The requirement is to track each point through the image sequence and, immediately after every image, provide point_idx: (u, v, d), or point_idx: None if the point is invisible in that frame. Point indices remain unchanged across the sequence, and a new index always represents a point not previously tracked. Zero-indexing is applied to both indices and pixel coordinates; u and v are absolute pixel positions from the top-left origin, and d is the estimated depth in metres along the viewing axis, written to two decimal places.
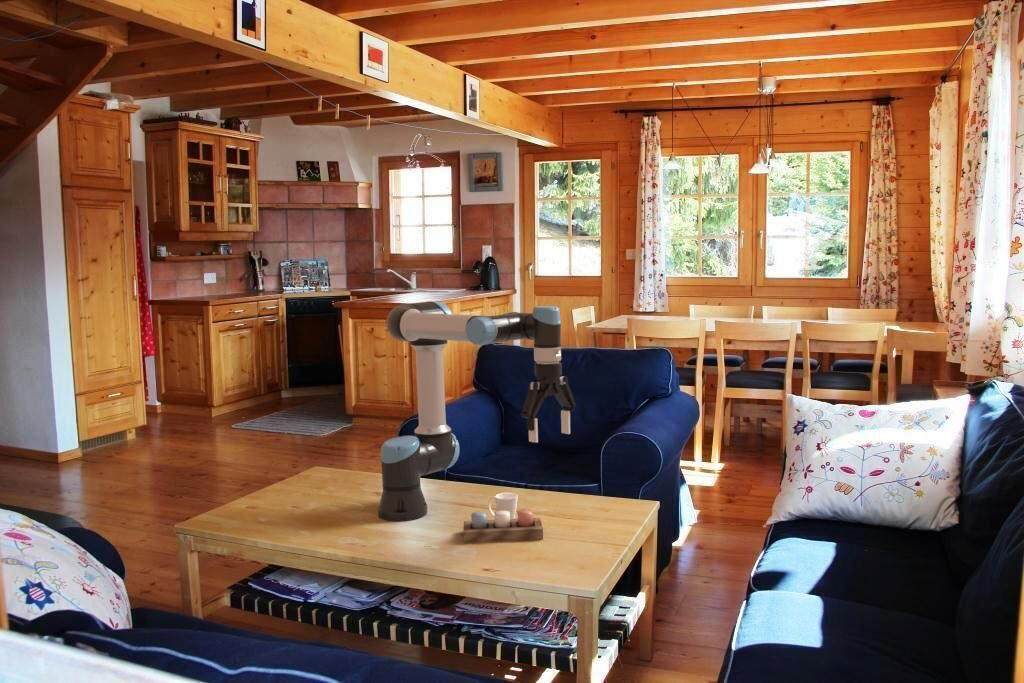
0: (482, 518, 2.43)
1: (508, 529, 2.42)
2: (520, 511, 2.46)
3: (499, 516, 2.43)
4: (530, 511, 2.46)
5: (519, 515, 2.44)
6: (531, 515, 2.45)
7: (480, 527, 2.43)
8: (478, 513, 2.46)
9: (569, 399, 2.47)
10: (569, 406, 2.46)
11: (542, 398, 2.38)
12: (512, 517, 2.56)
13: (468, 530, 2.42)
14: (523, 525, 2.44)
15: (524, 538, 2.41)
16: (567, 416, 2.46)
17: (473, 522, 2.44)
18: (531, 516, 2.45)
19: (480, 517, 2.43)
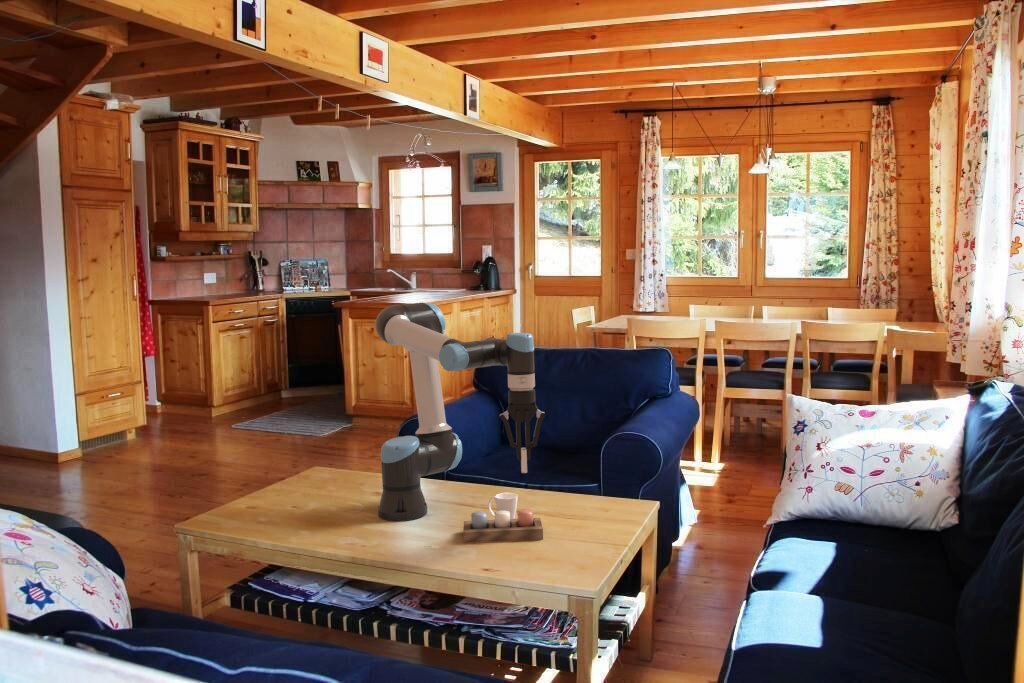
0: (482, 518, 2.43)
1: (508, 529, 2.42)
2: (520, 511, 2.46)
3: (499, 516, 2.43)
4: (530, 511, 2.46)
5: (519, 515, 2.44)
6: (531, 515, 2.45)
7: (480, 527, 2.43)
8: (478, 513, 2.46)
9: (534, 435, 2.43)
10: (528, 444, 2.43)
11: (518, 426, 2.42)
12: (512, 517, 2.56)
13: (468, 530, 2.42)
14: (523, 525, 2.44)
15: (524, 538, 2.41)
16: None
17: (473, 522, 2.44)
18: (531, 516, 2.45)
19: (480, 517, 2.43)
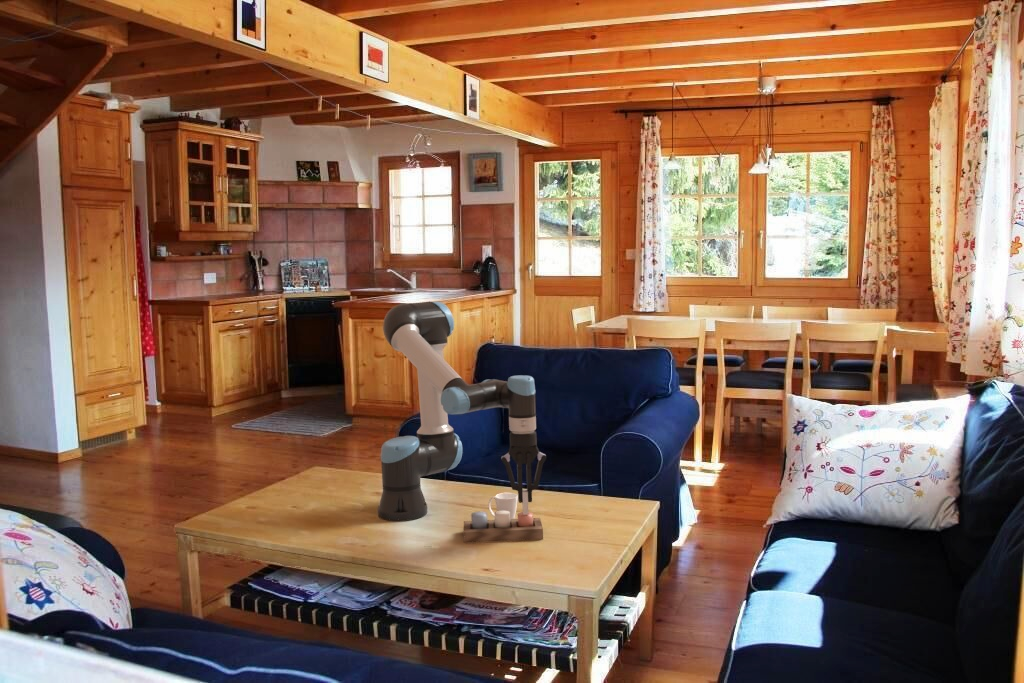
0: (482, 518, 2.43)
1: (508, 529, 2.42)
2: (520, 513, 2.46)
3: (499, 516, 2.43)
4: (530, 513, 2.46)
5: (519, 517, 2.45)
6: (531, 517, 2.45)
7: (480, 527, 2.43)
8: (478, 513, 2.46)
9: (535, 478, 2.44)
10: (529, 486, 2.44)
11: (519, 469, 2.43)
12: (512, 517, 2.56)
13: (468, 530, 2.42)
14: None
15: (524, 538, 2.41)
16: None
17: (473, 522, 2.44)
18: (531, 518, 2.45)
19: (480, 517, 2.43)
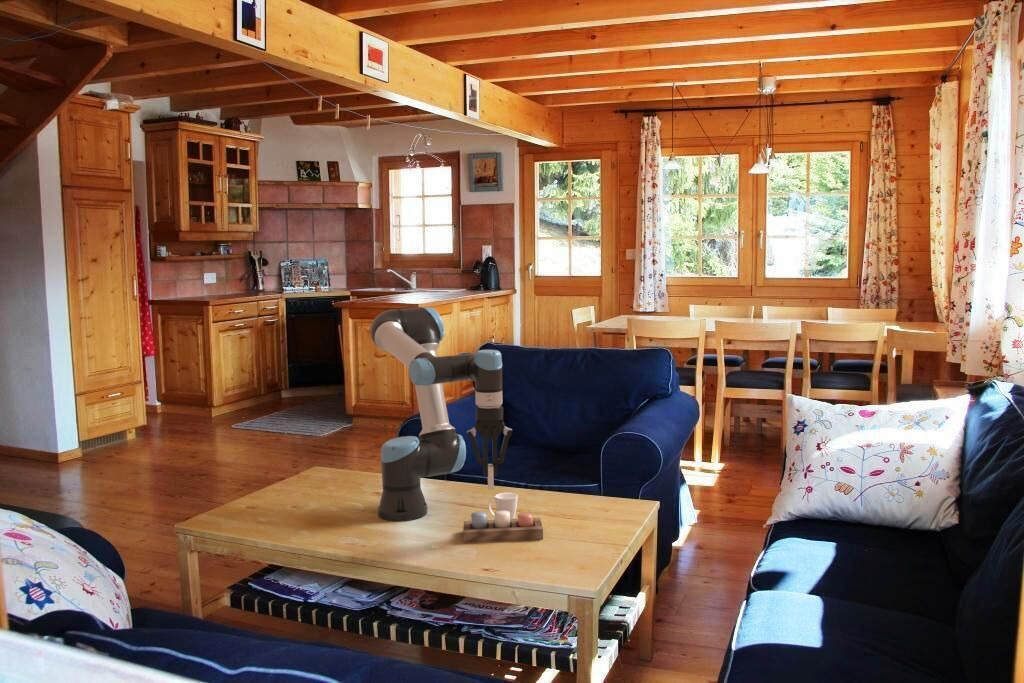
0: (482, 518, 2.43)
1: (508, 529, 2.42)
2: (520, 514, 2.46)
3: (499, 516, 2.43)
4: (530, 514, 2.46)
5: (519, 518, 2.45)
6: (531, 518, 2.45)
7: (480, 527, 2.43)
8: (478, 513, 2.46)
9: (501, 452, 2.44)
10: (495, 461, 2.43)
11: (485, 443, 2.42)
12: (512, 517, 2.56)
13: (468, 530, 2.42)
14: None
15: (524, 538, 2.41)
16: None
17: (473, 522, 2.44)
18: (531, 519, 2.45)
19: (480, 517, 2.43)
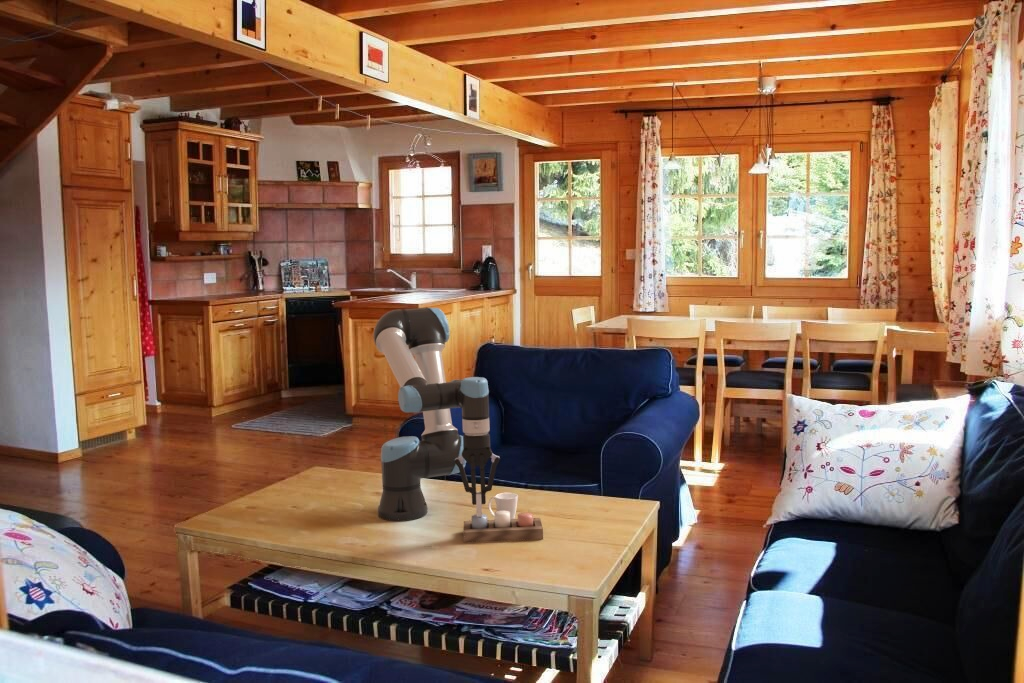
0: (482, 520, 2.43)
1: (508, 529, 2.42)
2: (520, 514, 2.46)
3: (499, 516, 2.43)
4: (530, 514, 2.46)
5: (519, 518, 2.45)
6: (531, 518, 2.45)
7: None
8: None
9: (489, 480, 2.44)
10: (483, 488, 2.43)
11: (472, 471, 2.43)
12: (512, 517, 2.56)
13: (468, 530, 2.42)
14: None
15: (524, 538, 2.41)
16: None
17: (473, 524, 2.44)
18: (531, 519, 2.45)
19: (480, 519, 2.43)
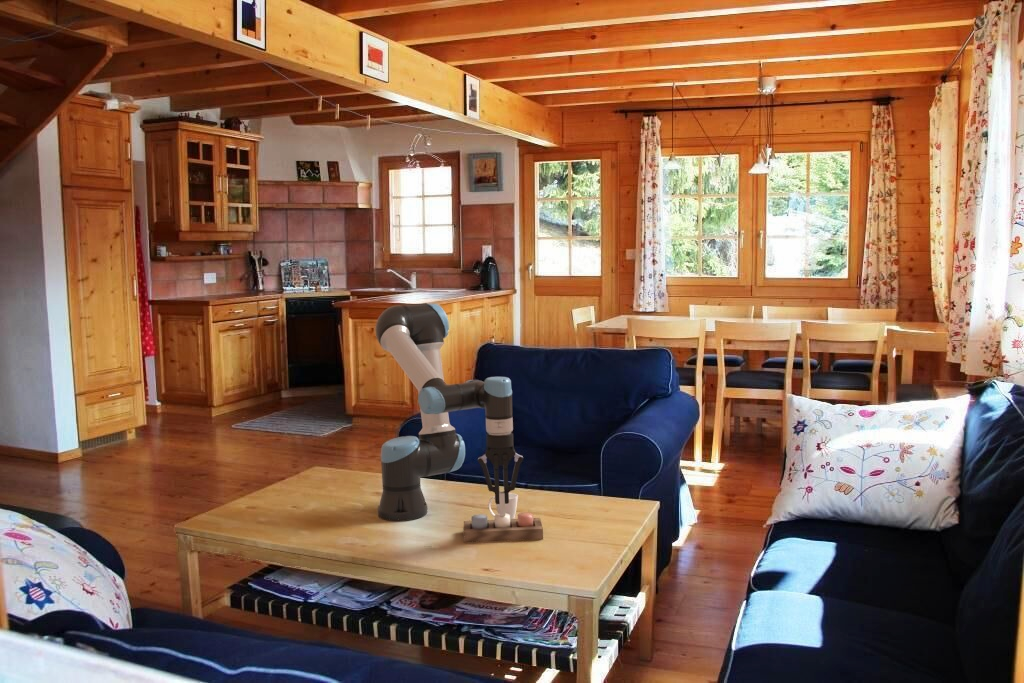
0: (482, 521, 2.43)
1: (508, 529, 2.42)
2: (520, 514, 2.46)
3: (499, 519, 2.44)
4: (530, 514, 2.46)
5: (519, 518, 2.45)
6: (531, 518, 2.45)
7: None
8: (478, 516, 2.46)
9: (512, 479, 2.44)
10: (506, 488, 2.43)
11: (496, 470, 2.43)
12: (512, 517, 2.56)
13: (468, 530, 2.42)
14: None
15: (524, 538, 2.41)
16: None
17: (473, 525, 2.44)
18: (531, 519, 2.45)
19: (480, 520, 2.43)
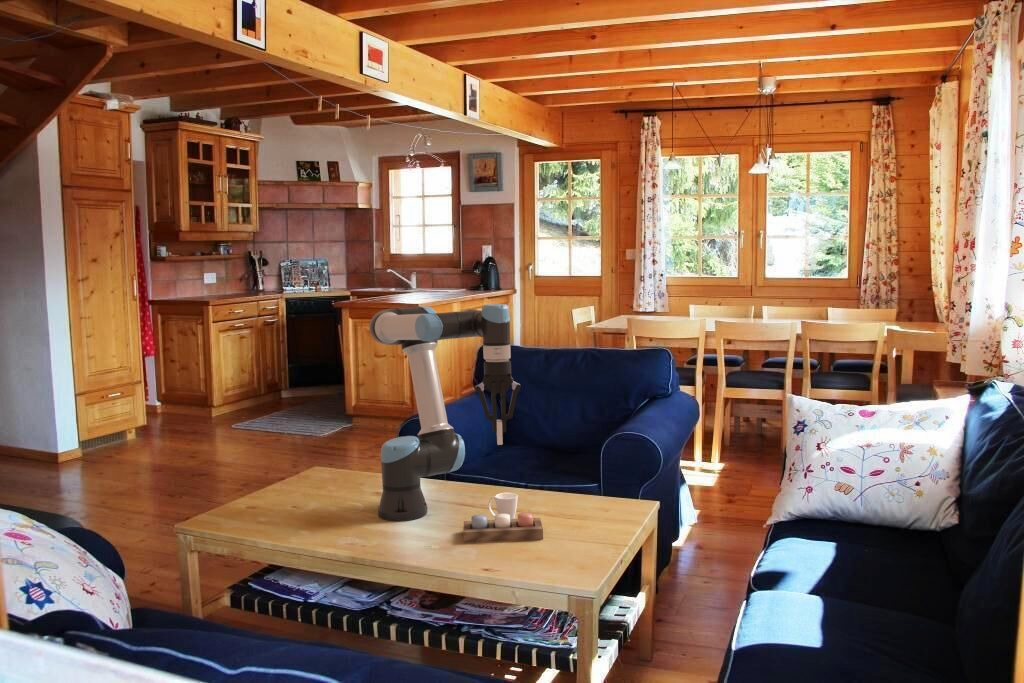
0: (482, 521, 2.43)
1: (508, 529, 2.42)
2: (520, 514, 2.46)
3: (499, 519, 2.44)
4: (530, 514, 2.46)
5: (519, 518, 2.45)
6: (531, 518, 2.45)
7: None
8: (478, 516, 2.46)
9: (509, 407, 2.42)
10: (503, 416, 2.41)
11: (493, 398, 2.41)
12: (512, 517, 2.56)
13: (468, 530, 2.42)
14: None
15: (524, 538, 2.41)
16: None
17: (473, 525, 2.44)
18: (531, 519, 2.45)
19: (480, 520, 2.43)
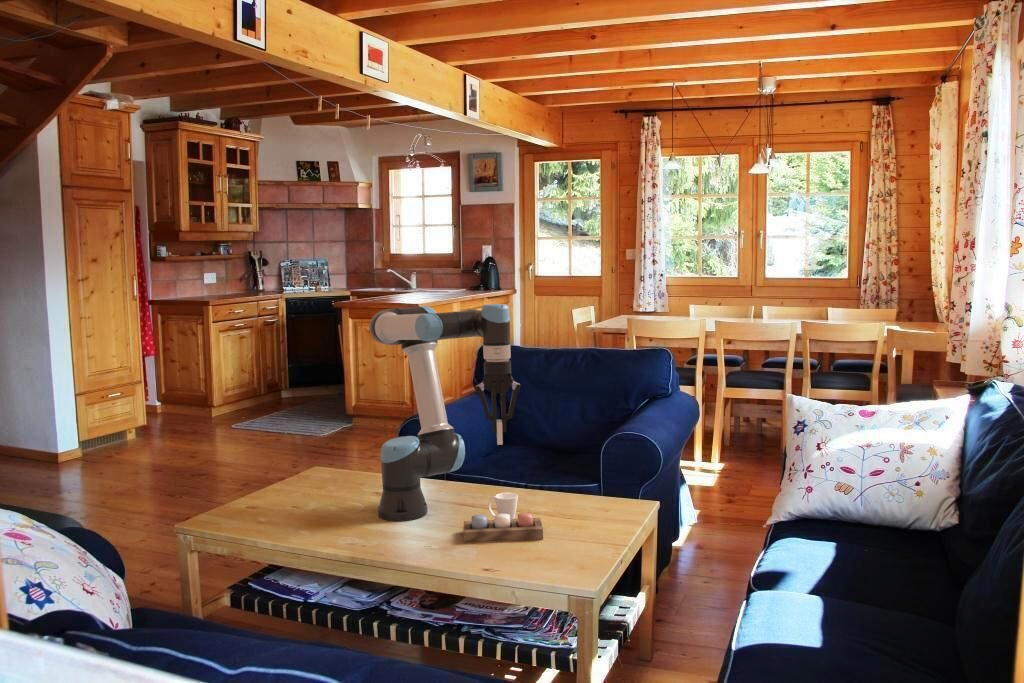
0: (482, 521, 2.43)
1: (508, 529, 2.42)
2: (520, 514, 2.46)
3: (499, 519, 2.44)
4: (530, 514, 2.46)
5: (519, 518, 2.45)
6: (531, 518, 2.45)
7: None
8: (478, 516, 2.46)
9: (509, 407, 2.42)
10: (503, 416, 2.41)
11: (493, 398, 2.41)
12: (512, 517, 2.56)
13: (468, 530, 2.42)
14: None
15: (524, 538, 2.41)
16: None
17: (473, 525, 2.44)
18: (531, 519, 2.45)
19: (480, 520, 2.43)
